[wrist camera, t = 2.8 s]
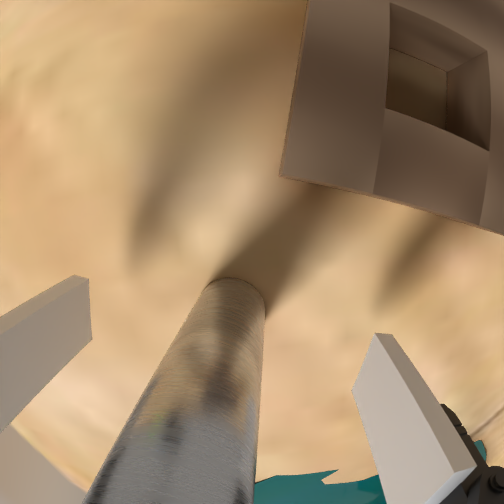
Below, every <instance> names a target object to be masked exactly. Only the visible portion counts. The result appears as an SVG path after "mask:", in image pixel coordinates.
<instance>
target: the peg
mask: <svg viewBox="0 0 504 504" xmlns="http://www.w3.org/2000/svg"><path fill="white" fill-rule="evenodd" d="M264 323H265V305H264V301H263V299H262V296H261V295H260V293H259V292H258V291H257V290H256V288H254V287H253V286H252V285H251V284H249V283H247V282H245V281H243V280H240V279H236V278H223V279H219V280H216V281H214V282H212V283H211V284H209V285H208V286H207V287H206V288H205V289H204V290H203V292H202V293H201V295H200V297H199V298H198V300H197V302H196V303H195V305H194V307H193V308H192V310H191V312H190V313H189V315H188V317H187V318H186V320H185V322H184V323H183V325H182V327H181V328H180V330H179V332H178V334H177V335H176V337H175V339H174V340H173V342H172V344H171V345H170V347H169V349H168V350H167V352H166V354H165V356H164V357H163V359H162V361H161V362H160V364H159V366H158V368H157V369H156V371H155V373H154V374H153V376H152V378H151V380H150V381H149V383H148V385H147V387H146V388H145V390H144V392H143V394H142V395H141V397H140V399H139V401H138V402H137V404H136V406H135V408H134V409H133V411H132V413H131V415H130V416H129V418H128V420H127V422H126V423H125V425H124V427H123V429H122V431H121V432H120V434H119V436H118V438H117V440H116V441H115V443H114V445H113V447H112V449H111V450H110V452H109V454H108V456H107V458H106V459H105V461H104V463H103V465H102V467H101V469H100V470H99V472H98V474H97V476H96V478H95V480H94V482H93V483H92V485H91V487H90V489H89V491H88V493H87V495H86V497H85V498H84V501H83V502H82V504H253V502H254V488H255V475H256V460H257V446H258V430H259V414H260V398H261V381H262V362H263V343H264Z"/></svg>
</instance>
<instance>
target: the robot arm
mask: <svg viewBox="0 0 504 504" xmlns="http://www.w3.org/2000/svg"><path fill="white" fill-rule="evenodd" d="M91 340H92V331H91V317H90V299H89V279H87V278H84V277H80V276H77V275H73V276H71V277H69V278H67V279H65V280H64V281H62V282H60V283H58V284H56V285H54V286H53V287H51V288H49V289H47V290H45V291H44V292H42V293H40V294H38V295H37V296H35V297H33V298H31V299H30V300H28V301H26V302H25V303H23V304H21V305H19V306H18V307H16V308H14V309H13V310H11V311H9V312H8V313H6V314H4V315H3V316H1V317H0V434H1V433H2V431H3V430H4V429H5V428H6V427H7V426H8V425H9V424H10V423H11V422H12V420H13V419H14V418H15V417H16V416H17V415H18V414H19V413H20V412H21V411H22V410H23V409H24V408H25V406H26V405H27V404H28V403H29V402H30V401H31V400H32V399H33V398H34V397H35V396H36V395H37V394H38V393H39V392H40V391H41V390H42V389H43V388H44V387H45V386H46V385H47V384H48V383H49V382H50V381H51V380H52V378H53V377H54V376H55V375H56V374H57V373H58V372H59V371H60V370H61V369H62V368H63V367H64V366H65V365H66V364H67V363H68V362H69V361H70V360H71V359H72V358H74V357H75V356H76V355H77V354H78V353H79V352H80V351H81V350H82V349H83V348H84V347H85V346H86V345H87V344H88V343H89V342H90V341H91ZM352 393H353V396H354V399H355V402H356V405H357V408H358V411H359V414H360V417H361V420H362V423H363V426H364V429H365V432H366V435H367V439H368V442H369V445H370V448H371V451H372V455H373V458H374V461H375V464H376V468H377V471H378V474H379V478H380V481H381V485H382V488H383V492H384V495H385V499H386V502H387V504H504V468H502V467H500V466H491V467H488V465H487V464H486V462H485V460H484V459H483V457H482V455H481V454H480V452H479V450H478V449H477V447H476V446H475V444H474V442H473V441H472V439H471V437H470V436H469V435H467V431H466V430H465V428H464V427H463V426H461V425H462V423H461V422H460V420H459V419H458V417H457V416H456V414H455V413H454V412H453V411H452V410H450V409H449V408H448V407H447V406H446V405H445V404H439V402H438V401H437V399H436V398H435V396H434V395H433V393H432V392H431V390H430V388H429V387H428V385H427V384H426V383H425V381H424V380H423V378H422V377H421V375H420V374H419V372H418V371H417V369H416V368H415V366H414V365H413V363H412V362H411V361H410V359H409V358H408V356H407V355H406V353H405V352H404V351H403V349H402V348H401V346H400V345H399V344H398V342H397V341H396V339H395V338H394V337H393V335H392V334H382V333H374V336H373V338H372V341H371V344H370V346H369V349H368V352H367V354H366V357H365V359H364V362H363V364H362V367H361V369H360V372H359V374H358V376H357V379H356V381H355V383H354V386H353V388H352Z"/></svg>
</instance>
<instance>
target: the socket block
mask: <svg viewBox="0 0 504 504" xmlns="http://www.w3.org/2000/svg"><path fill="white" fill-rule="evenodd" d="M389 48H392V49H395V50H397V51H400V52H402V53H405V54H408V55H410V56H413V57H415V58H417V59H420V60H422V61H424V62H427V63H429V64H431V65H433V66H436V67H438V68H440V69H442V70H444V71H446V72H447V113H446V129H445V130H443V129H440V128H438V127H436V126H433V125H431V124H428V123H426V122H423V121H421V120H418V119H415V118H413V117H410V116H407V115H405V114H402V113H399V112H396V111H393V110H390V109H387V108H385V103H386V92H387V80H388V64H389ZM279 177H283V178H288V179H294V180H299V181H304V182H309V183H314V184H318V185H323V186H328V187H332V188H337V189H341V190H346V191H350V192H354V193H358V194H363V195H367V196H371V197H375V198H379V199H383V200H387V201H390V202H394V203H398V204H402V205H405V206H409V207H412V208H416V209H419V210H423V211H426V212H430V213H433V214H436V215H440V216H443V217H446V218H449V219H452V220H456V221H459V222H462V223H465V224H468V225H471V226H474V227H477V228H480V229H484V230H487V231H490V232H494V233H497V234H500V235H503V236H504V0H308V1H307V8H306V14H305V21H304V27H303V33H302V40H301V46H300V52H299V59H298V65H297V71H296V77H295V83H294V89H293V95H292V101H291V107H290V113H289V119H288V125H287V131H286V137H285V143H284V149H283V154H282V160H281V166H280V172H279Z"/></svg>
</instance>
